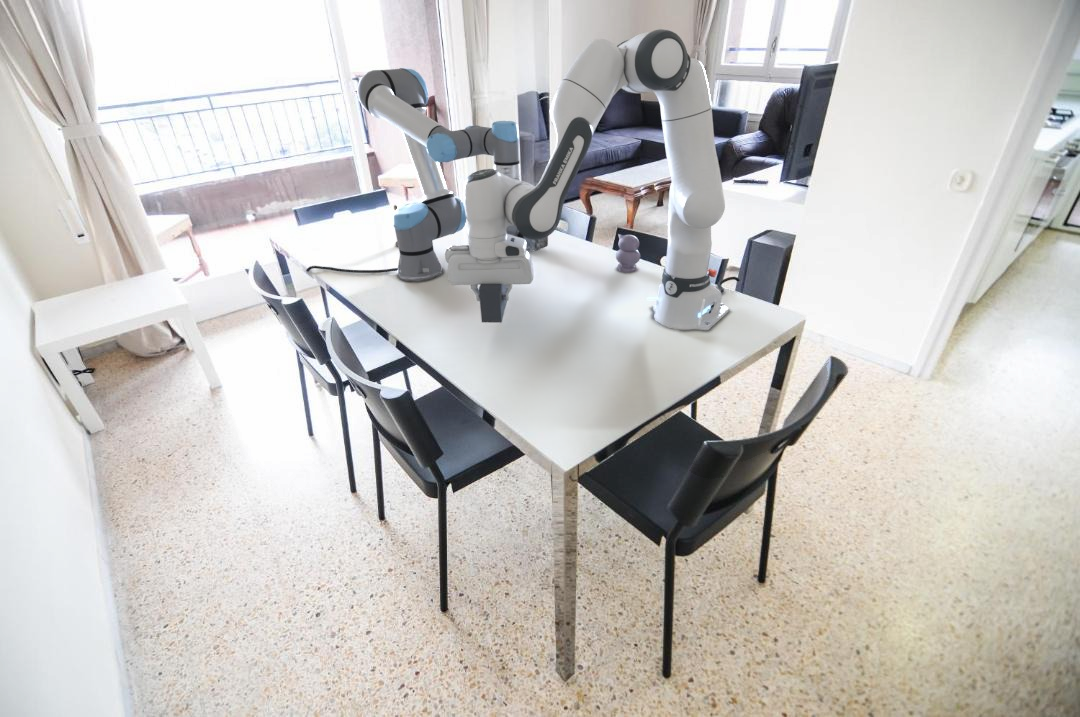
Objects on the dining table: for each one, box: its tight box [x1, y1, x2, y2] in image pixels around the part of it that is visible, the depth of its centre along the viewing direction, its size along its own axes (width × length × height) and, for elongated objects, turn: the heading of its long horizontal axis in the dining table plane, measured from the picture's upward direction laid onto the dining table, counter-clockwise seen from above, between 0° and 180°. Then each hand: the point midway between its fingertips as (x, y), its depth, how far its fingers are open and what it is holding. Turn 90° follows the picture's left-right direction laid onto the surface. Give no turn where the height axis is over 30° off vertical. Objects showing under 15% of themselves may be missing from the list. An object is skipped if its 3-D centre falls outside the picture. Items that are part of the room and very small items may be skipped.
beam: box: [478, 225, 519, 324], centre depth 140 cm, size 53×5×9 cm, turn 177°
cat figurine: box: [615, 233, 641, 273], centre depth 170 cm, size 8×8×12 cm
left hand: (511, 253), depth 161 cm, fingers closed on beam, 5 cm apart
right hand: (493, 299), depth 121 cm, fingers closed on beam, 5 cm apart
